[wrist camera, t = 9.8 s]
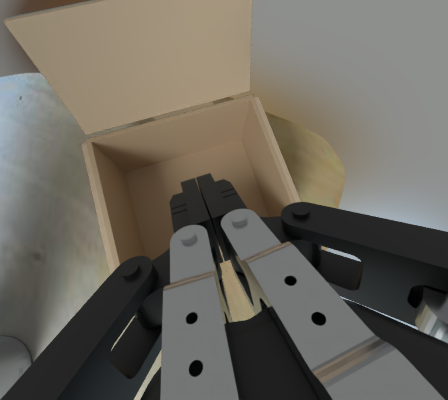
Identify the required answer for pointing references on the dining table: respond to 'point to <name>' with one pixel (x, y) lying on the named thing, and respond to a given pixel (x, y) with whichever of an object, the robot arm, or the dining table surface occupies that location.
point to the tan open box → (181, 172)
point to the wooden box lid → (138, 55)
